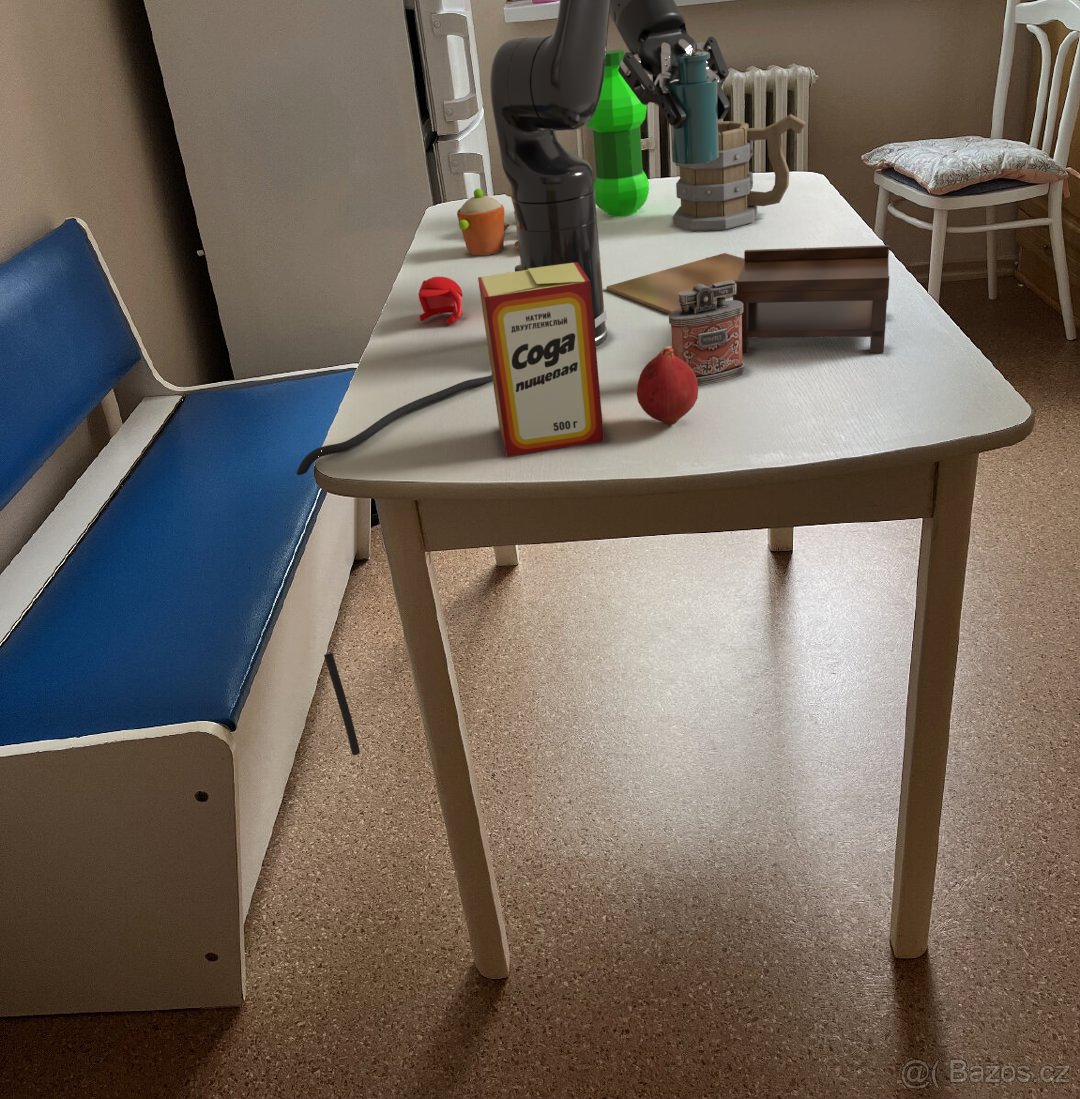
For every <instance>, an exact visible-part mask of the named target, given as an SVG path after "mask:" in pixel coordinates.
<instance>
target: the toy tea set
mask: <svg viewBox="0 0 1080 1099" xmlns="http://www.w3.org/2000/svg"><path fill="white" fill-rule="evenodd" d="M505 196H506V197H510V198H511V202H512V206H513V207H514V202H513V195H512V188H511V186H510V187H509V188H508V189H507V190H506V191H505ZM513 214H514V215H515V211H513ZM456 216H457V220H458V227H459V229H460V230H461V233H462V237H463V241H464V244H465V248H466V250H467V253H468V254H469V255H472V256H488V255H489V256H490V255H493V254H498V253H499V252H501V251H503V249H504V245H505V244H504V243H505V242H504V241H505V231H506V230H507V229H508V228H509V227H510V226H511V225H510V223H506V222H505V207H504V205H503V204H502V203H500V202H499V201H498V200H497V199H495V198H493V197H492V196H489V195H484V191H483V190H482V189H481V188H476V189H474V191H473V196H472V197H470V198H468V199H467V200H466V201H465V202H464V203H463V204H462V206H461V207H460V208H459V209H458V210H457V211H456ZM514 248H515V249H516V250H519V244H518V240H517V241H515V243H514Z"/></svg>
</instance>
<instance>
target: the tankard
mask: <svg viewBox="0 0 1080 1099" xmlns="http://www.w3.org/2000/svg"><path fill="white" fill-rule="evenodd" d="M749 126H750V125H749V123H747V122H741V121H736V120H735V121H733V120H731V121H730V120H727V121H718V141H719V157H718V158H717V159H716V160H713V161H710V162H705V163H698V164H677V163H674V164H675V166H676V167H678V168H679V179H678V181H677V182H676V183H675V184H676V185H675V187H676V188H675V190H676V192H675V193H676V198H677V199H679V200H680V206H679V207H678V208H677V210H676V211H675V213H674V214H673V215H672V225H673V226H675V227H678V228H682V229H684V230H688V231H691V232H707V231H710V232H711V231H727V230H731V229H734V228H738V227H743V226H747V225H750V224H752V223H754V221H755V219H756V217H757V215H758V207H766V206H767V207H768V206H771V205H776V204H780V203H781V201H782V199H783V197H784V195H785V194H786V192H787V190H788V188H789V185H790V169H789V166H788V164H787V160H786V158H785V155H784V150H783V142H782V135H783V134H785V133H786V132H788V131H789V130H791V131H793V132H795V133H796V134H801V133H802V131H803V129H805V126H806V121H804V120H803V119H801V118H798V117H796V116H795V115H793V114H792V113H790V114H788V115H787V116H785V117H783V118H781V119H780V120H778V121H776V122H774V123H772V124H770V125H768V126H766V127H749ZM762 140H766V144H767V145H766V146H767V155H768V160H769V162H770V165H771V167H772V170H773V173H774V185H773V187H772V189H771V190H767V191H756V190H752V189H753V187H754V173H753V172H752V171H750V160H751V158H752V156H754V145H753V144H754V141H762Z"/></svg>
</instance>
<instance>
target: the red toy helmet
mask: <svg viewBox="0 0 1080 1099" xmlns="http://www.w3.org/2000/svg"><path fill="white" fill-rule="evenodd" d="M417 295H418V301H419V303H420V305H421V308H422V310H423V313H421V314H420V315H419V318H418V319H419V321H420V322H423V321H425V320H426V321H427V320H428V319H429V318H431V317H434V316H436V315H442V314H449V313H451V315H450V316H449V317H448V318H447V320H446V323H447V324H448V325H450V326H451V325H453V323H456V321H458V320H459V319H461V317H462V316H463V314H464V310H463V290H462V287H461V286H460V285H459V284H458V283H457V282H456V281H455V280H454V279H451V278H449V277H446V276H433V277H430V278H428V279H426V280H423V281H422V283H421V286H420V287H419V290H418V294H417Z"/></svg>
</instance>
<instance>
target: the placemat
mask: <svg viewBox="0 0 1080 1099" xmlns="http://www.w3.org/2000/svg"><path fill="white" fill-rule="evenodd" d="M744 262H745V261H744V257H740V256H736V255H734V254H729V253H726V252H723V253H720V254H715V255H712V256H709V257H705V258H702V259H698V260H694V261H692V262H687V263H685V264H680V265H678V266H673V267H670V268H666V269H663V270H660V271H656V272H652V273H649V274H645V275H642V276H639V277H635V278H631V279H628V280H624V281H620V282H618V283H614V284H611V285H606V290H607V291H609V292H612V293H614V294H616V295H619V296H621V297H624V298H627V299H630V300H632V301H635V302H637V303H640V304H641V305H645V306H647V307H650V308H652V309H655V310H657V311H660V312H663V313H665V314H667V315H669V314H670V313H671V312H674V311H678V310H681V306H680V303H679V293H680V292H684V291H688V290H692V289H693V288H694V286H695V285H696V284H703V285H705V286H707V287H708V286H712V284H715V283H720V282H725V281H730V280H732V281H733V280H738V278H739V275H740V273H741V270H742V267H743V265H744ZM732 297H733V295H729V296H724V298H725V299H727V298H732ZM714 302H717V298H714Z"/></svg>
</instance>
